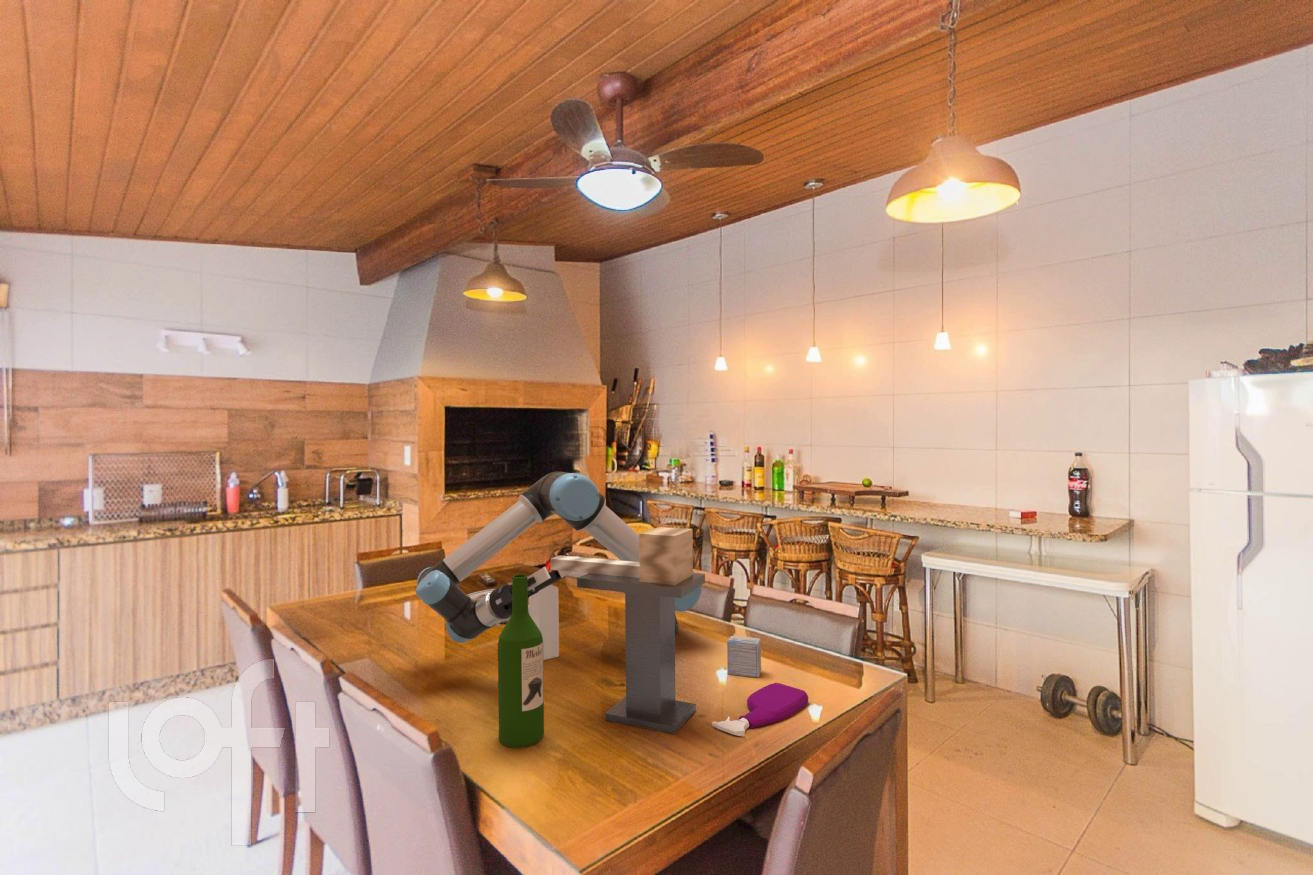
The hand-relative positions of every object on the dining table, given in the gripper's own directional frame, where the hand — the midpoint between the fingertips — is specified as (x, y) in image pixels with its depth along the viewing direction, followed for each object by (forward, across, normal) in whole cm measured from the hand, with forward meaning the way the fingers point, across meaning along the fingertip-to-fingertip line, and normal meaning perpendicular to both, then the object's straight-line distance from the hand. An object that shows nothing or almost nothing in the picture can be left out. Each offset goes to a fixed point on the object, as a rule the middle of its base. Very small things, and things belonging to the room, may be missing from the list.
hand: (564, 566), depth 148 cm
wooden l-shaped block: (+11, -1, -7) cm, 13 cm away
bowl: (-67, -53, +3) cm, 85 cm away
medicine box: (+12, -32, -43) cm, 55 cm away
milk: (-34, -22, -16) cm, 44 cm away
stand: (+1, 0, -36) cm, 36 cm away
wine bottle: (-14, +19, -27) cm, 36 cm away
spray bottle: (+21, -11, -49) cm, 54 cm away
